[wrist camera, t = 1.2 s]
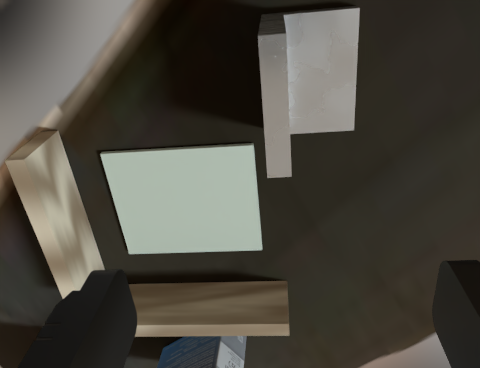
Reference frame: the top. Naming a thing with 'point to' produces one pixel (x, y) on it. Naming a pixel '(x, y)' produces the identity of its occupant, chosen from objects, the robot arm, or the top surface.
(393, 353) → the top surface
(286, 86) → the angle bracket
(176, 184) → the pad
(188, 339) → the label tape box
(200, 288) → the corner walls
